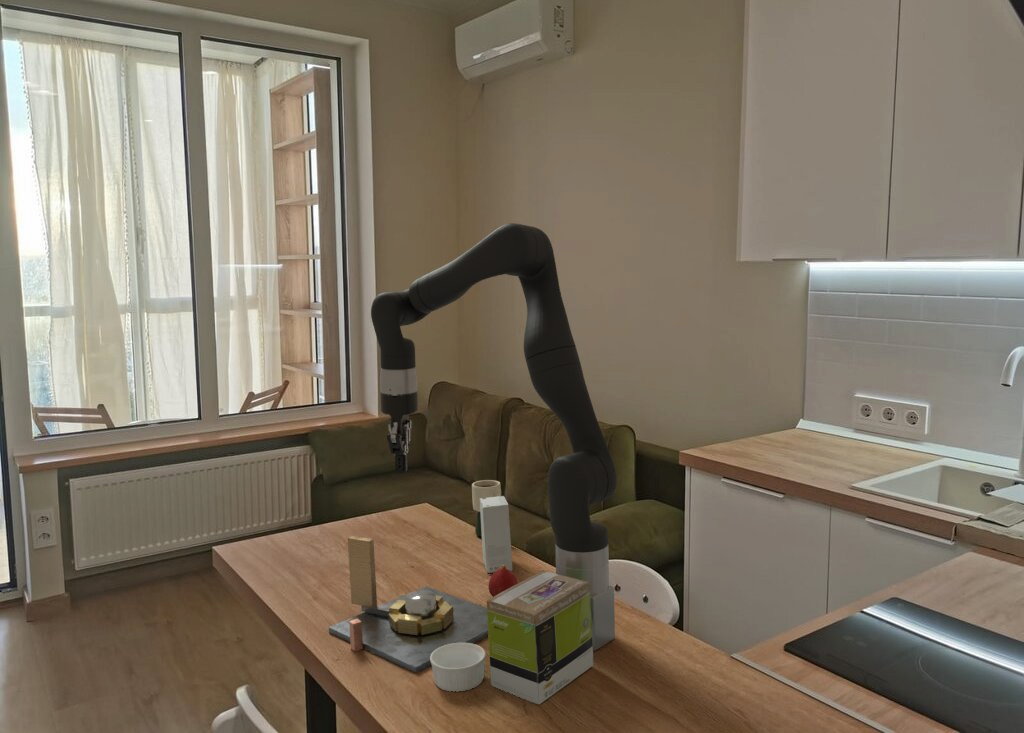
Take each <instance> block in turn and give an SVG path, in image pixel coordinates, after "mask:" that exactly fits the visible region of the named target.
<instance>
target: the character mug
mask: <svg viewBox="0 0 1024 733" xmlns="http://www.w3.org/2000/svg"><path fill="white" fill-rule="evenodd" d="M501 487H502V486H501V482H500V481H498V480H495V479H493V480H492V479H484V480H477V481H475V482H473V483H471V494H472V495H471V496H472V508H473V511H476V512H477V513H476V517H475V518H476V519H475V535H476V536H479V537H482V533H481V514H480V498H488V497H498V496H502V488H501Z"/></svg>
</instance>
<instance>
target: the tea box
mask: <svg viewBox="0 0 1024 733" xmlns="http://www.w3.org/2000/svg"><path fill="white" fill-rule="evenodd" d="M486 608H487V619H488V636H487V638H488V650H489V651H488V654H489V673H490V685H491V686H492V687H493V688H494V687H496V688H495V689H497V688H498V689H497V690H499V689H501V690H500V691H502V690H504V691H506V692H505V693H507V692H509V693H510V695H512V694H513V695H512V696H514V695H515V696H514V697H517V698H519V697H520V699H523V700H524V699H525V701H527V702H530V703H532V704H535V705H541V704H542V703H544V702H545V701H546V700H548V699H550V697H552V696H553V695H555V694H556V693H557V692H559V691H560V690H561V689H563V688H564V687H565V686H567V685H568V684H570V683H571V682H573V681H574V680H575V679H577V678H578V677H579V676H581V675H582V674H584V673H585V672H587V671H588V670H589V669H591V668H592V667H593V666H594V650H593V645H592V619H591V600H590V582H587V581H583V580H579V579H574V578H570V577H566V576H562V575H558V574H556V573H555V572H554V573H553V572H550V571H546V570H540V571H539V572H537V573H535V574H533V575H531V576H529V577H528V578H526V579H524V580H523V581H520V582H518V584H516V585H514V586H512V587H510V588H509V589H507V590H505V591H503V592H501V593H499V594H498V595H496V596H494V597H492V596H491V598H490V597H489V598H488V599H486ZM504 691H503V692H504ZM509 693H508V694H509Z"/></svg>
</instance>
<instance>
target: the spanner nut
mask: <svg viewBox="0 0 1024 733" xmlns="http://www.w3.org/2000/svg"><path fill="white" fill-rule="evenodd" d="M374 542H375V541H374V538H370V537H363V536H355V535H351V536H349V537H347V549H348V566H349V567H348V568H349V570H348V571H349V580H350V581H349V585H350V600H351V601H350V602H351V604H353V605H357V606H361V608H360V609H361V612H363V613H364V612H369V613H374V614H379V615H384V616H389V624H390V625H391V626H392V628H393V629H394V630H395V631H398V633H405V634H412V635H418V634H419V633H421V635H424V634H428V633H432V632H437V631H441V630H442V628H443V629H445V628H446V627H447V626H448V625H449V624H450V623H451V622H452V621H453V620H454V615H453V606H450V605H449V604H448V603H447V602H446V601H445V602H443V596H436V613H434V617H433V618H429V619H424V620H422V616H414V615H406V608H405V601H404V600H398V601H396V602H395V603H394V604H393V605H392V606H391V607H388V606H383V604H378V597H377V580H376V578H377V577H376V561H375V560H376V559H375V545H374V544H375V543H374Z"/></svg>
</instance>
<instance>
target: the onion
mask: <svg viewBox="0 0 1024 733" xmlns="http://www.w3.org/2000/svg"><path fill="white" fill-rule="evenodd" d="M518 583H519V580H518V579H517V577H516V575H515V574H514V572H512V571H509V570H508V569H506V566H505V565H502V566H501V567H500V568H499V569H498V570H497V571H496V572H492V575H491V576H490V578H489V581H488V587H487V588H488V591H489V592H488V593H489V594H490V595H491V598H492V597H494V596H496V595H498V594H499V593H501V592H503V591H505V590H507V589H509V588H510V587H512V586H514V585H516V584H518Z"/></svg>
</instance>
